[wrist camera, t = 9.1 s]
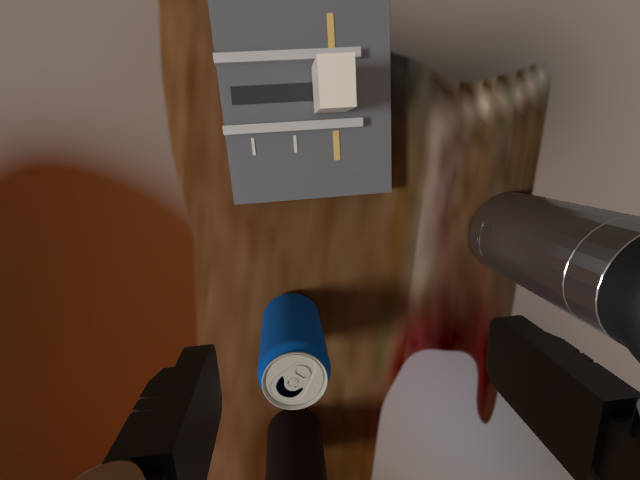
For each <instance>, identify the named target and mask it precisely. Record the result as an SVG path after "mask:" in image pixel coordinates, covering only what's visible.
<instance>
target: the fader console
mask: <svg viewBox="0 0 640 480" xmlns="http://www.w3.org/2000/svg"><path fill="white" fill-rule="evenodd" d="M208 7H209V15H210V22H211V30H212V38H213V45H214V53H213V59H214V64H215V65H216V68H217V76H218V84H219V91H220V99H221V107H222V114H223V122H224V126H222V127H223V135H225V137H226V145H227V153H228V160H229V168H230V176H231V183H232V191H233V199H234V205H237V204H249V203H262V202H274V201H287V200H299V199H312V198H324V197H337V196H349V195H362V194H374V193H387V192H392V176H391V65H390V0H208ZM345 52H355V66H356V96H357V107H355V108H353V109H351V110H349V111H347V112H339V113H322V114H314V100H313V84H312V68H311V67H312V65H313V62H314V60H315V57H316V55H317V54H322V53H345Z"/></svg>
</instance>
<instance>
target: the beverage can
mask: <svg viewBox="0 0 640 480" xmlns="http://www.w3.org/2000/svg"><path fill="white" fill-rule="evenodd" d="M330 373H331V367H330V362H329V357H328V353H327V348H326V344H325V339H324V335H323V330H322V326H321V321H320V317H319V313H318V309H317V307H316V305H315V304H314V303H313V302H312V301H311V300H310V299H309V298H307V297H306V296H303V295H301V294H296V293H288V294H283V295H280V296H278V297H276V298H275V299H273V300H272V301H271V302H270V303H269V304H268V306H267V307H266V309H265V311H264V314H263V322H262V332H261V342H260V351H259V361H258V371H257V376H258V381H259V384H260V386H261V388H262V390H263V393H264V395H265V396H266V398H267V399H268V400H269V401H270V402H271V403H272V404H274V405H275V406H277V407H279V408H282V409H286V410H298V409H303V408H306V407H308V406H311V405H312V404H314V403H315V402H317V401H318V400H319V399H320V398H321V396H322V395H323V394H324V392H325V390H326V387H327V384H328V381H329V378H330Z"/></svg>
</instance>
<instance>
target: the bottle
mask: <svg viewBox="0 0 640 480" xmlns="http://www.w3.org/2000/svg"><path fill="white" fill-rule="evenodd" d="M265 480H328V479H327V472H326V465H325V457H324V450H323V443H322V436H321V429H320V425H319V421H318V419H317V418H316V417H315V416H314V414H312V413H311V412H309V411H307V410H304V409H298V410H284V411H282V412H280V413H279V414H277V415H276V416H275V417H274V418H273V419H272V420H271V422H270V425H269V427H268V435H267V456H266V478H265Z"/></svg>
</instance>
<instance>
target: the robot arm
mask: <svg viewBox="0 0 640 480" xmlns="http://www.w3.org/2000/svg"><path fill="white" fill-rule="evenodd" d="M470 245H471V248H472V251H473V253H474V254H475V256H476V257H477V258H478V259H479V260H480V261H481V262H482V263H484V264H485V265H487V266H489V267H490V268H492V269H494V270H495V271H497V272H499V273H500V274H502V275H504V276H505V277H507V278H509V279H510V280H512V281H514V282H516V283H517V284H519V285H521V286H522V287H524V288H526V289H527V290H529V291H531V292H533V293H534V294H536V295H538V296H540V297H541V298H543V299H545V300H546V301H548V302H550V303H551V304H553V305H555V306H556V307H558V308H560V309H562V310H563V311H565V312H567V313H568V314H570V315H572V316H573V317H575V318H577V319H579V320H581V321H582V322H584V323H586V324H587V325H589V326H591V327H593V328H594V329H596V330H598V331H599V332H601V333H603V334H605V335H606V336H608V337H610V338H611V339H613V340H615V341H617V342H618V343H620V344H622V345H623V346H625V347H626V348H628V349H629V351H630V352H631V353H632V355H633V356H634V357H635V358H636V359H637V361H638V362H639V363H640V217H639V216H634V215H629V214H624V213H619V212H613V211H609V210H604V209H598V208H594V207H589V206H584V205H578V204H573V203H569V202H564V201H559V200H553V199H549V198H545V197H540V196H534V195H529V194H524V193H518V192H506V193H503V194H500V195H497V196H495V197H493V198H491V199H490V200H489V201H487V202H486V203H485V204H484V205H483V206H482V207H481V208H480V209H479V211H478V212H477V214H476V215H475V217H474V219H473V222H472V224H471V228H470ZM486 368H487V373H488V376H489V379H490V381H491V383H492V385H493V386H494V388H495V389H496V390H497V391H498V392H499V393H500V394H501V396H502V397H503V398H504V399H505V400H506V401H507V402H508V404H509V405H510V406H511V407H512V408H513V409H514V410H515V412H516V413H517V414H518V415H519V416H520V417H521V418H522V420H523V421H524V422H525V423H526V424H527V425H528V426H529V428H530V429H531V430H532V431H533V432H534V433H535V435H536V436H537V437H538V438H539V439H540V440H541V441H542V442H543V444H544V445H545V446H546V447H547V448H548V449H549V451H550V452H551V453H552V454H553V455H554V456H555V457H556V458H557V460H558V461H559V462H560V463H561V464H562V465H563V467H564V468H565V469H566V470H567V471H568V472H569V473H570V475H571V476H572V477H573V478H574V479H575V480H640V392H639V391H637V390H636V389H634V388H633V387H631V386H630V385H628V384H627V383H626V382H624V381H623V380H621V379H619V378H618V377H617V376H615V375H614V374H613V373H611V372H610V371H608V370H607V369H605V368H604V367H602V366H601V365H600V364H598V363H594V362H593V360H592V359H591V358H590V357H588V356H587V355H585V354H584V353H580V352H579V350H578V349H577V348H575V347H574V346H572V345H571V344H569V343H568V342H566V341H565V340H564V339H561V338H559V337H557V336H554V335H552V334H550V333H547V332H545V331H543V330H542V329H540V328H539V327H538V326H536V325H535V324H533V323H532V322H531V321H529V320H528V319H526V318H525V317H523V316H521V315H516V316H506V317H496V318H493V319H492V321H491V323H490V328H489V340H488V351H487V362H486ZM221 412H222V392H221V385H220V378H219V371H218V364H217V357H216V351H215V347H214V345H213V344H210V345H200V346H190V347H185V348H184V349H183V351H182V352H181V354H180V357H179V359H178V361H177V363H176V365H175V367H169V368H163V369H162V370H161V371H160V372H159V373H158V374H157V375H155V377H153V378H152V379H151V380H150V381H149V382H148V383H147V385H146V387H145V389H144V390H143V392H142V394H141V396H140V400H138V401H137V403H136V404H135V406H134V408H133V410H132V413H131V414H130V415H129V417H128V419H127V420H126V422H125V424H124V426H123V428H122V429H121V431H120V433H119V434H118V437H117V438H116V440H115V442H114V443H113V445H112V447H111V449H110V450H109V452H108V454H107V456H106V457H105V459H104V461H103V463H102V464H101V465H100V466H97V467H95V468H93V469H91V470H89V471H87V472H86V473H84V474H82V475H81V476H79V477H78V478H77V479H75V480H207V476H208V471H209V467H210V463H211V458H212V454H213V449H214V445H215V441H216V436H217V432H218V427H219V423H220V419H221Z"/></svg>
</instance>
